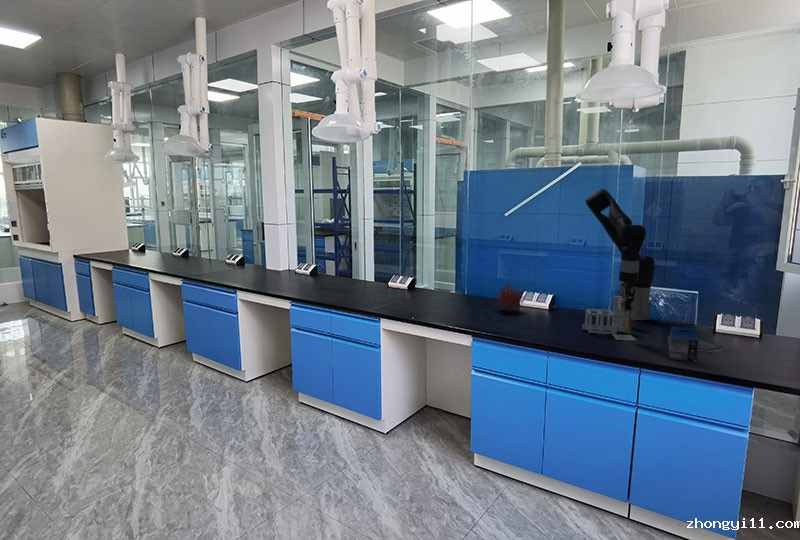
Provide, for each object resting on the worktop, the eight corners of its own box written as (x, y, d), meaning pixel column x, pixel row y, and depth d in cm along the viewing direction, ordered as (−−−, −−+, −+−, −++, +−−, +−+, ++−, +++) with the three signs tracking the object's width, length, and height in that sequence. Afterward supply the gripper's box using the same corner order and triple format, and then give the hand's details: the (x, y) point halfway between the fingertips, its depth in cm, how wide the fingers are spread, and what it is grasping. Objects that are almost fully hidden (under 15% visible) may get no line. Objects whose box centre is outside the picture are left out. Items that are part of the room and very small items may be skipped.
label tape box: (669, 359, 174) (672, 328, 172) (667, 356, 178) (670, 326, 176) (696, 362, 171) (699, 331, 169) (693, 359, 175) (696, 328, 173)
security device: (733, 357, 178) (733, 352, 178) (667, 348, 189) (668, 343, 189) (727, 346, 193) (728, 342, 192) (667, 338, 204) (667, 334, 203)
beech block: (629, 309, 201) (630, 298, 200) (632, 311, 196) (633, 300, 196) (617, 308, 202) (618, 297, 201) (620, 310, 197) (621, 299, 197)
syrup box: (622, 327, 219) (624, 298, 217) (611, 324, 224) (613, 295, 222) (629, 326, 222) (632, 297, 219) (619, 323, 227) (621, 294, 225)
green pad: (631, 336, 204) (631, 335, 204) (636, 341, 196) (636, 340, 196) (612, 335, 206) (612, 334, 206) (616, 340, 198) (616, 339, 198)
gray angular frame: (612, 329, 215) (613, 310, 214) (617, 335, 206) (619, 314, 205) (584, 328, 218) (585, 308, 216) (588, 333, 208) (589, 313, 207)
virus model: (493, 313, 247) (494, 286, 245) (498, 307, 261) (499, 281, 258) (521, 315, 242) (522, 288, 239) (524, 309, 255) (525, 283, 253)
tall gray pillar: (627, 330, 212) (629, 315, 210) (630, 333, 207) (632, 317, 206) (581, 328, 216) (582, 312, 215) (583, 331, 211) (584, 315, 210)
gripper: (615, 268, 204) (612, 304, 207) (624, 272, 190) (621, 311, 193) (633, 268, 203) (630, 305, 205) (643, 273, 189) (640, 312, 191)
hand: (625, 308), depth 199 cm, fingers closed on beech block, 5 cm apart
